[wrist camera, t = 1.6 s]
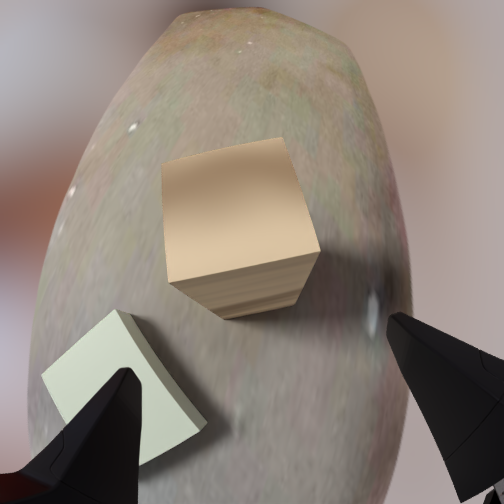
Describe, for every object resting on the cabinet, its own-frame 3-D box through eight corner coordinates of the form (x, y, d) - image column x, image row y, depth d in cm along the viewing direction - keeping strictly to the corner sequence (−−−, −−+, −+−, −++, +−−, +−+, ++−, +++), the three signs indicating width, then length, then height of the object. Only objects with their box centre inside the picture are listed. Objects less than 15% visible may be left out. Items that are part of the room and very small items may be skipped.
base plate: (208, 422, 18) (199, 431, 16) (119, 472, 16) (106, 481, 14) (129, 313, 21) (115, 308, 19) (57, 375, 20) (41, 375, 17)
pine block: (294, 304, 21) (320, 250, 10) (224, 319, 21) (168, 282, 10) (278, 239, 23) (282, 137, 11) (213, 253, 23) (161, 163, 11)
